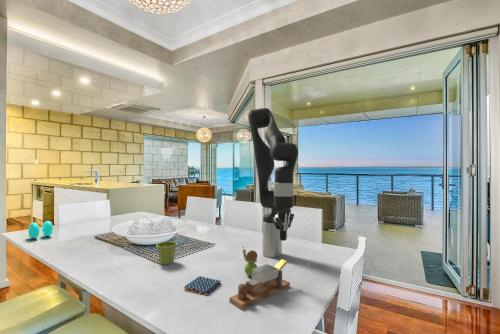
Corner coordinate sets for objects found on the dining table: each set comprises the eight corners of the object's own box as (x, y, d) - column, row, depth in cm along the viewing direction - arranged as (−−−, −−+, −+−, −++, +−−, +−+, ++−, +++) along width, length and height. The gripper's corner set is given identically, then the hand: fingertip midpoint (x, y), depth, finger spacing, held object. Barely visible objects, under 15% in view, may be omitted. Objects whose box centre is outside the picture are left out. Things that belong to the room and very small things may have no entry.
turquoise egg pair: (27, 238, 153) (28, 222, 154) (47, 235, 162) (48, 219, 162) (32, 241, 148) (33, 224, 148) (53, 237, 156) (53, 221, 156)
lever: (271, 271, 94) (281, 260, 98) (278, 274, 91) (288, 263, 95) (270, 269, 93) (280, 258, 97) (277, 272, 91) (287, 261, 95)
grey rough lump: (267, 272, 94) (267, 264, 94) (278, 276, 90) (278, 268, 90) (251, 278, 88) (251, 269, 88) (262, 283, 84) (262, 274, 84)
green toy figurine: (241, 273, 105) (242, 244, 105) (256, 272, 106) (257, 244, 106) (242, 278, 100) (242, 248, 100) (258, 278, 100) (258, 248, 101)
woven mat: (198, 280, 99) (198, 274, 99) (222, 285, 95) (222, 279, 95) (182, 291, 90) (182, 285, 90) (207, 297, 86) (207, 291, 86)
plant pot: (151, 264, 113) (151, 245, 114) (165, 258, 122) (165, 240, 122) (167, 267, 110) (168, 248, 110) (181, 260, 119) (181, 242, 119)
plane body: (277, 281, 98) (278, 263, 98) (289, 286, 94) (290, 267, 94) (229, 301, 82) (229, 280, 82) (241, 309, 77) (241, 286, 78)
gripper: (284, 193, 103) (283, 235, 102) (265, 195, 93) (265, 241, 92) (300, 194, 98) (300, 238, 98) (283, 196, 88) (282, 245, 87)
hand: (283, 240), depth 95 cm, fingers closed
